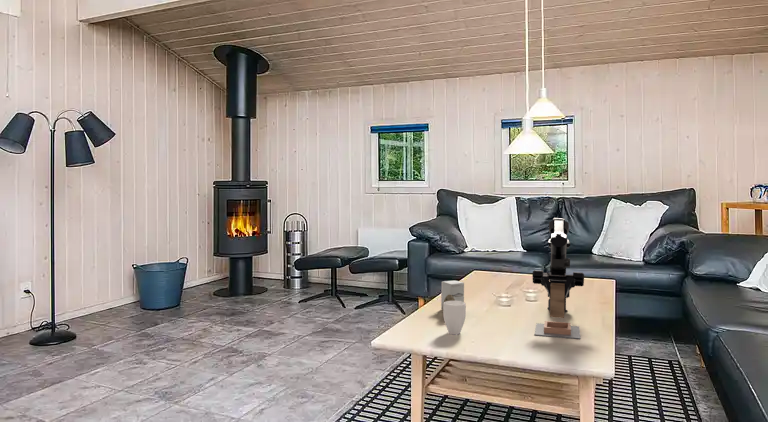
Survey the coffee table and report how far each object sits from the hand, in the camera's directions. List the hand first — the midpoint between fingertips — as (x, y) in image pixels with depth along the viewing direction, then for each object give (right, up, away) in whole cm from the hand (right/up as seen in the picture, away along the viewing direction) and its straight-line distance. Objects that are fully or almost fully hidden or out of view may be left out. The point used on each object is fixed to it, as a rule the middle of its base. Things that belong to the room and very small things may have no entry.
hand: (557, 296), depth 202 cm
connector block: (0, -7, +2) cm, 8 cm away
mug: (-38, -14, +2) cm, 40 cm away
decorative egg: (-38, -13, +22) cm, 45 cm away
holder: (+1, -13, +2) cm, 14 cm away
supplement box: (-35, -12, +35) cm, 51 cm away
